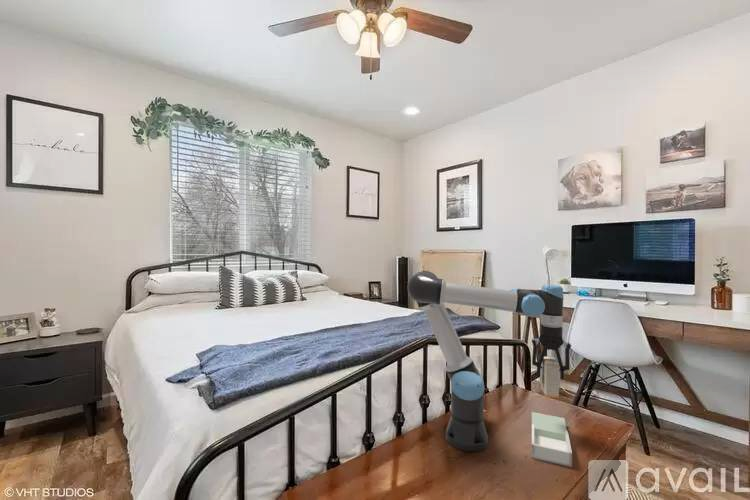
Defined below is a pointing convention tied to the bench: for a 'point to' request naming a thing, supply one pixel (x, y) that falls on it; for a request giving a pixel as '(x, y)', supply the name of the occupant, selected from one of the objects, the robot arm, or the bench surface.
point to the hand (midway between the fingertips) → (549, 385)
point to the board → (549, 426)
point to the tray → (552, 449)
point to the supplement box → (550, 377)
